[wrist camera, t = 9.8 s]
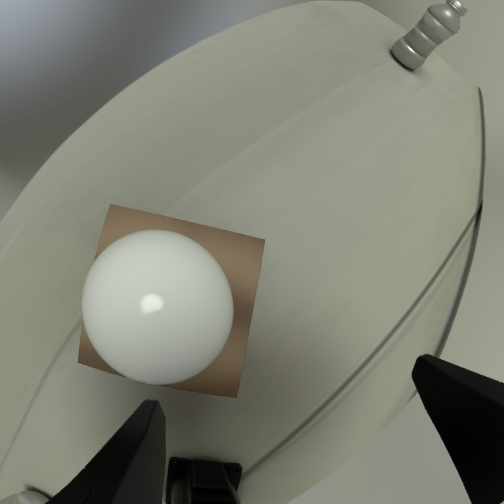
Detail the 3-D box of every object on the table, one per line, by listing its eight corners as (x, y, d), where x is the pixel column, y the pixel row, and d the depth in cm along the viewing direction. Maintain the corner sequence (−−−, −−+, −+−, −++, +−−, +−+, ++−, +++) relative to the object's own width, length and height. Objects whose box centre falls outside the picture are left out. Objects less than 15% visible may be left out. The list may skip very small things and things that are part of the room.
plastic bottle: (383, 44, 36) (437, -16, 17) (408, 57, 38) (461, 4, 19) (394, 64, 35) (456, 1, 16) (418, 77, 37) (480, 23, 18)
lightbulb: (107, 295, 17) (25, 286, 7) (175, 241, 19) (168, 171, 8) (163, 367, 17) (142, 441, 7) (231, 311, 19) (289, 324, 9)
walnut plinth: (230, 387, 20) (236, 397, 18) (88, 356, 18) (78, 362, 16) (256, 246, 23) (265, 239, 21) (117, 214, 21) (110, 204, 18)
